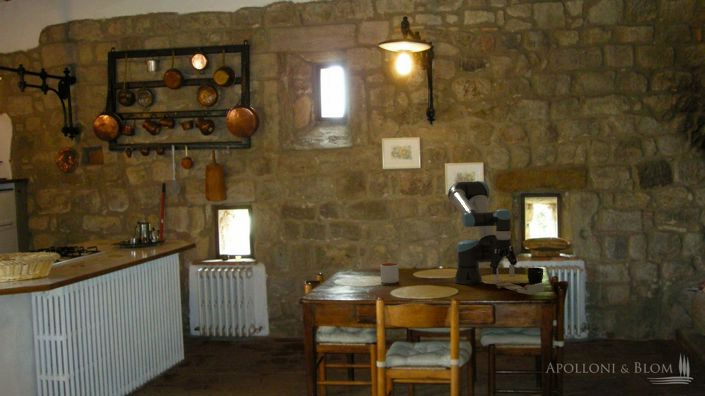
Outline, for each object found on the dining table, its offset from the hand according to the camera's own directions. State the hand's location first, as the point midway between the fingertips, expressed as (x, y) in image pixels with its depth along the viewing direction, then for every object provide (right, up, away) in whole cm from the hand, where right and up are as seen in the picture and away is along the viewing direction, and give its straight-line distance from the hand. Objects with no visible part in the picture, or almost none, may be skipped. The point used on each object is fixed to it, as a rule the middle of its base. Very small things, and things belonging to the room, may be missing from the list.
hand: (504, 278), depth 357 cm
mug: (+17, -5, -1) cm, 18 cm away
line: (+8, -5, -9) cm, 14 cm away
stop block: (+11, -5, -12) cm, 17 cm away
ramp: (+3, -5, -4) cm, 7 cm away
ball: (+9, -3, -13) cm, 17 cm away
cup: (-59, -5, +24) cm, 64 cm away
